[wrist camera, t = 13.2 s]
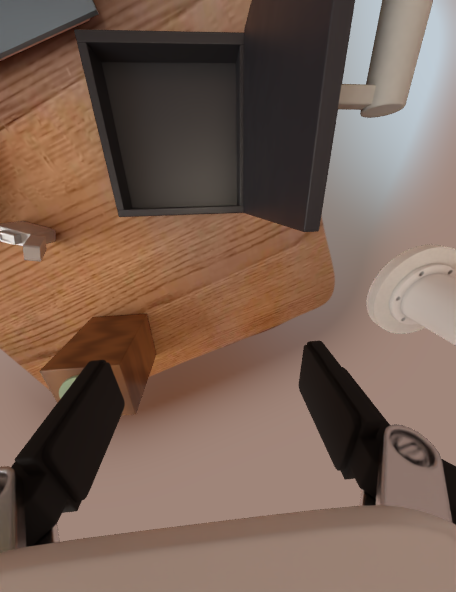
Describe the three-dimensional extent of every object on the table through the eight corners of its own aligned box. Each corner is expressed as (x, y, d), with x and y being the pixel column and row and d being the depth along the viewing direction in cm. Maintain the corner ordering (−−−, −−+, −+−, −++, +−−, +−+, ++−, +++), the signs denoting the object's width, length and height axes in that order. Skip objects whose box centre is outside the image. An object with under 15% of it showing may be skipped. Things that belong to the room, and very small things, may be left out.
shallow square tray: (129, 214, 28) (118, 217, 25) (95, 55, 22) (73, 28, 18) (241, 210, 29) (246, 212, 26) (242, 57, 23) (247, 32, 19)
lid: (303, 232, 11) (389, 228, 11) (413, -633, 4) (622, -549, 4) (243, 212, 25) (281, 211, 26) (244, 28, 19) (295, 30, 19)
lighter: (22, 233, 28) (-43, 245, 21) (21, 220, 28) (-46, 228, 20) (78, 247, 30) (36, 263, 22) (78, 235, 29) (35, 248, 22)
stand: (147, 313, 35) (119, 364, 24) (156, 354, 39) (136, 414, 28) (92, 317, 34) (38, 371, 24) (107, 358, 38) (67, 420, 28)
